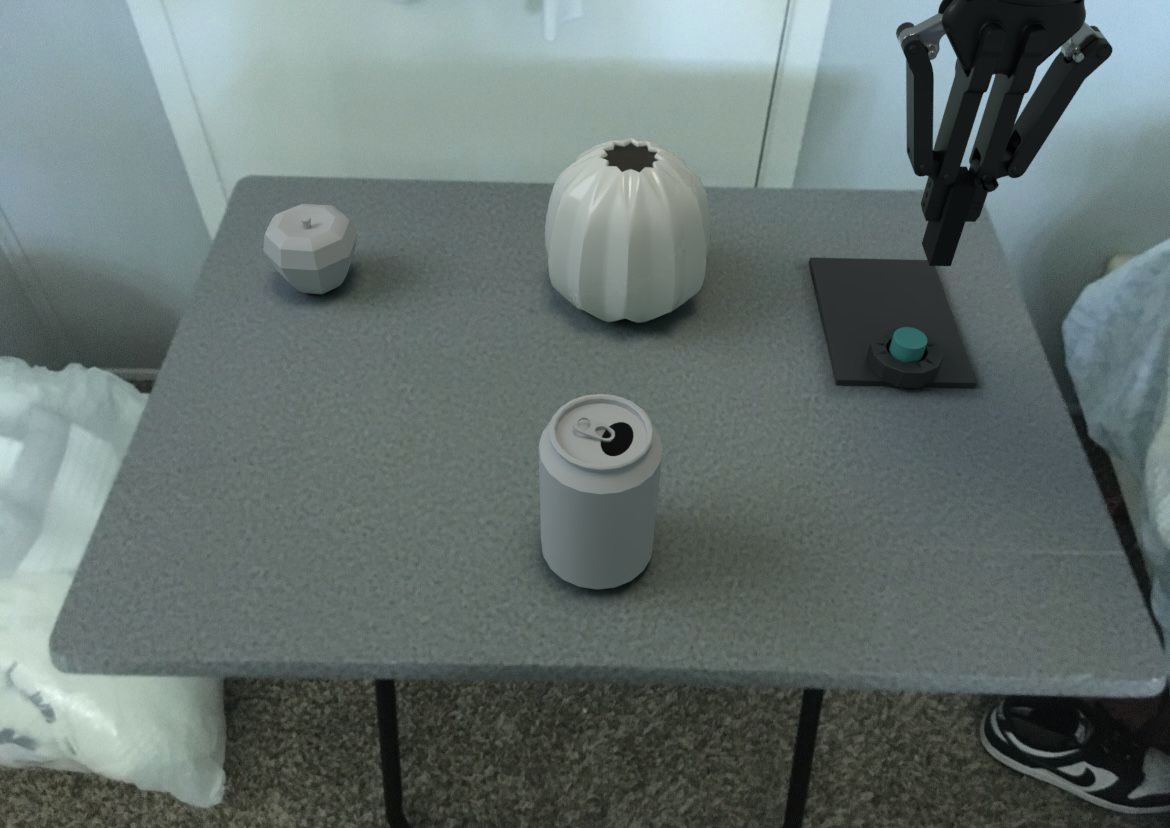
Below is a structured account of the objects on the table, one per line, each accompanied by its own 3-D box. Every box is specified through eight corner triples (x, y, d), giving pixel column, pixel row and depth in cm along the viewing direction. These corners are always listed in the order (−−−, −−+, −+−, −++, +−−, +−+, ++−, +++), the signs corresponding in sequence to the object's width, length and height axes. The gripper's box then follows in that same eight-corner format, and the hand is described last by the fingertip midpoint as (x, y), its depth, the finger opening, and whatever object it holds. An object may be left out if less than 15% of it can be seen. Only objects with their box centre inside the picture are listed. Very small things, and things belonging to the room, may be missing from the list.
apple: (268, 263, 92) (252, 199, 87) (357, 247, 93) (346, 184, 89) (278, 318, 86) (261, 254, 82) (372, 300, 88) (361, 237, 83)
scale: (977, 394, 81) (985, 374, 79) (837, 391, 81) (842, 371, 79) (931, 265, 93) (937, 245, 91) (808, 262, 93) (812, 242, 91)
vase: (549, 243, 94) (547, 108, 85) (701, 247, 94) (716, 113, 84) (539, 342, 84) (535, 202, 75) (709, 347, 84) (727, 208, 75)
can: (634, 610, 66) (644, 488, 58) (524, 579, 68) (519, 455, 59) (665, 524, 71) (679, 400, 63) (563, 496, 73) (563, 372, 64)
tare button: (926, 364, 80) (930, 349, 79) (892, 363, 80) (897, 348, 79) (919, 341, 82) (923, 327, 81) (886, 341, 82) (890, 326, 81)
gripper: (1135, -108, 61) (1012, 226, 77) (912, -113, 61) (837, 222, 77) (1185, -59, 55) (1041, 289, 72) (941, -64, 55) (854, 284, 72)
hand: (936, 254), depth 75 cm, fingers closed
